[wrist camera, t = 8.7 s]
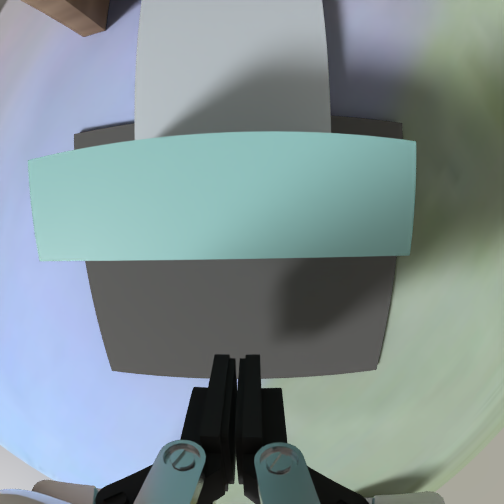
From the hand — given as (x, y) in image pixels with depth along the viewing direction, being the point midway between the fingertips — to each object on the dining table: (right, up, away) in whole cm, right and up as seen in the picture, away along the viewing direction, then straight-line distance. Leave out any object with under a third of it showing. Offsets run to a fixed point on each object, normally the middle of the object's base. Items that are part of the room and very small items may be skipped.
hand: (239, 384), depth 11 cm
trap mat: (0, +5, +2) cm, 5 cm away
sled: (0, +18, -2) cm, 18 cm away
